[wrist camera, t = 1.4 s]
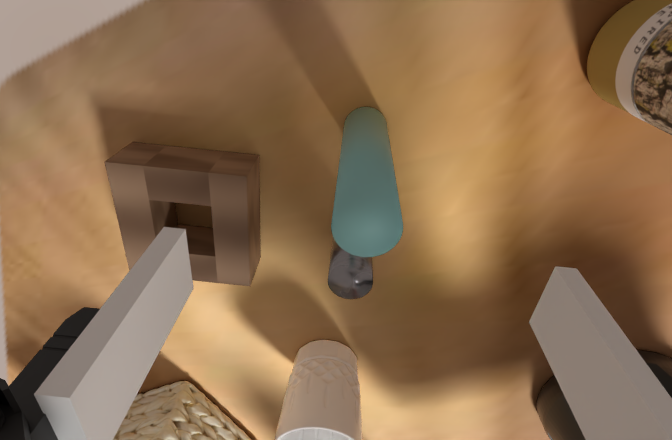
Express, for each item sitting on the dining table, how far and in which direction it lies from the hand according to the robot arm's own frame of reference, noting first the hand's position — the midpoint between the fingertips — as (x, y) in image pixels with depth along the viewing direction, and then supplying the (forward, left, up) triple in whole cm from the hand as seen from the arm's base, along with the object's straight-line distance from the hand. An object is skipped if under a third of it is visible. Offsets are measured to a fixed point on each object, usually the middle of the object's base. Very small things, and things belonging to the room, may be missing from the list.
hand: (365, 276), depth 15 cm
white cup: (-26, +1, -18) cm, 32 cm away
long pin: (0, 0, -18) cm, 18 cm away
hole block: (-8, +13, -18) cm, 23 cm away
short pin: (-9, 0, -18) cm, 20 cm away
